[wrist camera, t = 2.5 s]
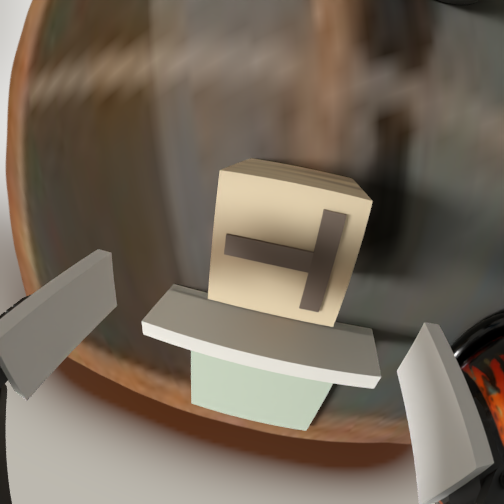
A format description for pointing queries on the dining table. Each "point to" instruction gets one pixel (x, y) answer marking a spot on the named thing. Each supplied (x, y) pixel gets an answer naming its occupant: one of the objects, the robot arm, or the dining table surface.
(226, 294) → the maple cube
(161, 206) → the dining table surface
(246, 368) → the display pad
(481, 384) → the amphora vase
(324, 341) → the white slab
